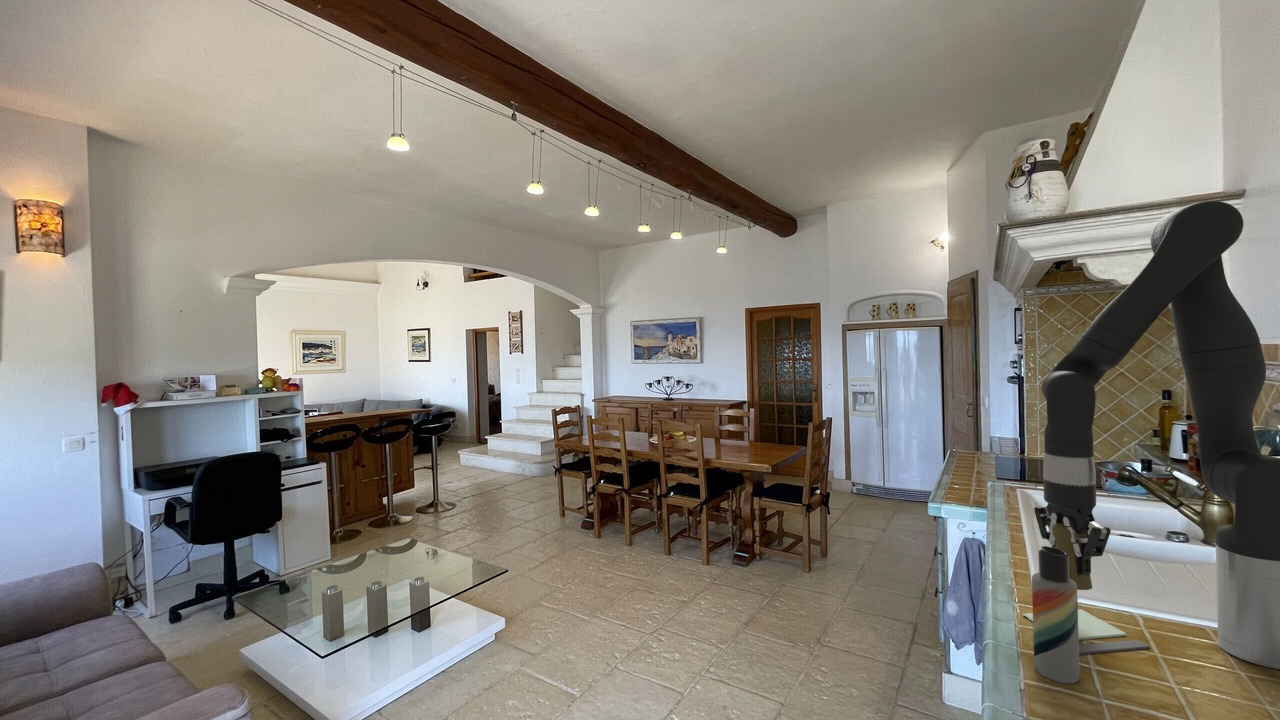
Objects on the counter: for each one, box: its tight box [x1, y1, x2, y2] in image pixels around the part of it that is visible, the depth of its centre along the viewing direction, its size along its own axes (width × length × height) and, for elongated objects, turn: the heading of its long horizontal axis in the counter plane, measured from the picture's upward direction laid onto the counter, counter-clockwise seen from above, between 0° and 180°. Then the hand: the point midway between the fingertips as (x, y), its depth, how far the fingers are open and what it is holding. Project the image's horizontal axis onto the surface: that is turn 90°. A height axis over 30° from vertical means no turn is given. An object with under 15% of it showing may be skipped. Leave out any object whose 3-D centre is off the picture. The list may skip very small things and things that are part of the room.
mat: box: [1022, 608, 1127, 641], centre depth 98 cm, size 12×9×1 cm
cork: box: [1052, 523, 1093, 591], centre depth 98 cm, size 6×6×11 cm
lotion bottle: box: [1031, 545, 1080, 685], centre depth 84 cm, size 6×6×20 cm
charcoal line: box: [1079, 639, 1151, 656], centre depth 90 cm, size 16×2×1 cm, turn 94°
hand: (1070, 570), depth 98 cm, fingers closed on cork, 4 cm apart
